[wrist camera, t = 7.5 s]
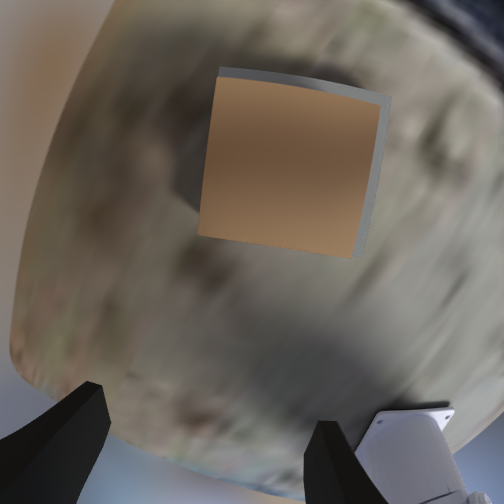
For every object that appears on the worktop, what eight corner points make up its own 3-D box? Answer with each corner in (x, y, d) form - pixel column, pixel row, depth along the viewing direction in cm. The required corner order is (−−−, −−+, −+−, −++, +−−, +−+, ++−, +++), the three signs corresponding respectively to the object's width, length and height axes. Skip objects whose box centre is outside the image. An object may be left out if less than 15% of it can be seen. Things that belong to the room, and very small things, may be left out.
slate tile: (348, 239, 18) (361, 257, 15) (210, 218, 18) (199, 233, 16) (372, 102, 16) (391, 96, 13) (227, 78, 16) (219, 66, 13)
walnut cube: (326, 220, 15) (351, 258, 10) (220, 204, 15) (197, 235, 10) (345, 115, 13) (380, 105, 9) (234, 97, 13) (216, 76, 9)
